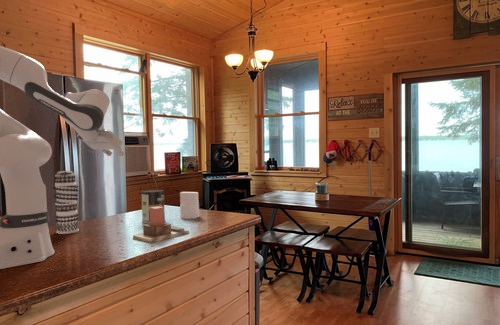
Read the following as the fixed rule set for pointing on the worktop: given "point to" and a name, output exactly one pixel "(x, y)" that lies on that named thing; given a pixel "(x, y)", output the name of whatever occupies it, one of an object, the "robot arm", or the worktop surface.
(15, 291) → the worktop surface
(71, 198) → the decorative candle
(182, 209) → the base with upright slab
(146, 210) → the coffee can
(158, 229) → the jig
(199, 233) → the worktop surface
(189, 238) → the worktop surface
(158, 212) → the red rectangular block
